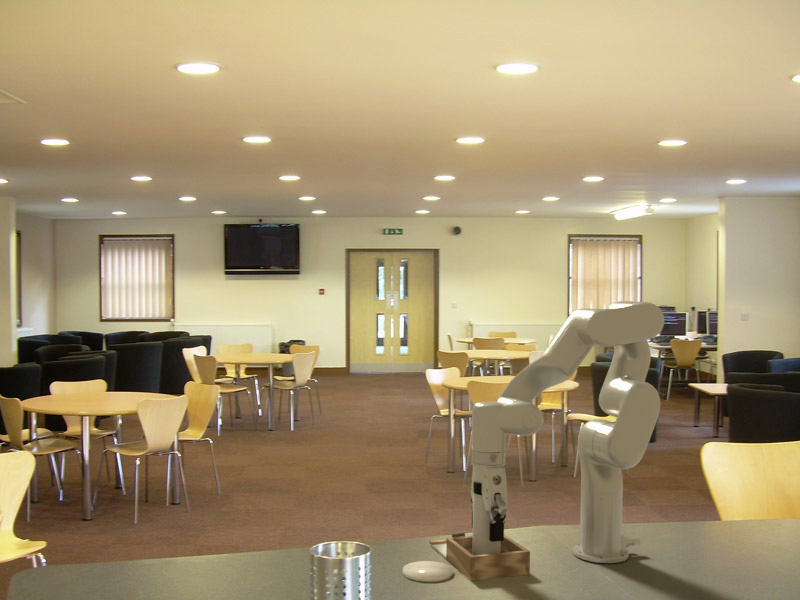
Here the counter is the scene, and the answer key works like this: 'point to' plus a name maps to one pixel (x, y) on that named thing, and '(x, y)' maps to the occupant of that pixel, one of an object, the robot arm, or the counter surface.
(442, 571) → the saucer
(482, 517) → the travel mug
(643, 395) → the robot arm
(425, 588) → the counter surface
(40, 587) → the counter surface
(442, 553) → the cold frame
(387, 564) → the counter surface
